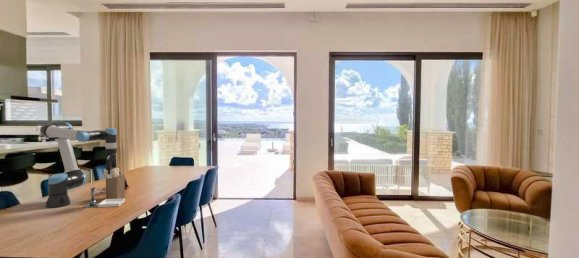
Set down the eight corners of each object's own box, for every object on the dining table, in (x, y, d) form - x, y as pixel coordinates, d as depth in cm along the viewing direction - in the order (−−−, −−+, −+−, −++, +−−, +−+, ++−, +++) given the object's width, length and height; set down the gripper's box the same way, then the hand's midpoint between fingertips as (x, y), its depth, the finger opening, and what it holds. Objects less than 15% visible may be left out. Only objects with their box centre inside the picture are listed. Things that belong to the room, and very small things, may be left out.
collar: (115, 177, 235) (115, 169, 234) (101, 177, 233) (101, 169, 232) (118, 175, 242) (118, 167, 242) (105, 175, 241) (105, 168, 240)
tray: (97, 207, 230) (97, 204, 230) (105, 201, 245) (105, 199, 244) (119, 206, 233) (119, 203, 233) (125, 201, 248) (125, 198, 248)
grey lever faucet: (83, 207, 229) (83, 189, 228) (88, 204, 237) (88, 186, 237) (96, 207, 230) (96, 189, 230) (101, 203, 239) (101, 186, 239)
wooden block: (124, 197, 259) (124, 173, 258) (117, 200, 249) (116, 176, 249) (113, 196, 260) (113, 173, 259) (105, 199, 250) (105, 175, 249)
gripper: (111, 149, 227) (111, 179, 228) (120, 146, 248) (121, 174, 249) (100, 149, 226) (100, 180, 227) (110, 146, 246) (111, 174, 247)
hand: (111, 177), depth 238 cm, fingers closed on collar, 8 cm apart
